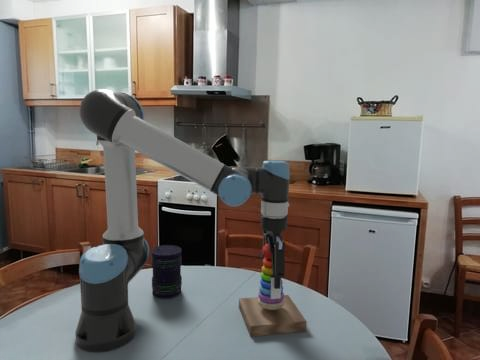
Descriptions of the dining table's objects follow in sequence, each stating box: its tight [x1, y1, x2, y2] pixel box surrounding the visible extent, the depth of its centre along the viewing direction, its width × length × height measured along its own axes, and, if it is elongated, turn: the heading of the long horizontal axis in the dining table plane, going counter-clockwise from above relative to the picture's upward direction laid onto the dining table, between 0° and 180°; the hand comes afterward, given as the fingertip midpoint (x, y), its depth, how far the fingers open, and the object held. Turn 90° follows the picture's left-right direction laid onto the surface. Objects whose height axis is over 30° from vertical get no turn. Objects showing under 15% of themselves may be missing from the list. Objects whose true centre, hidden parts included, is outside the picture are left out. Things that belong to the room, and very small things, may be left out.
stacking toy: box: [257, 243, 285, 310], centre depth 106 cm, size 8×8×19 cm
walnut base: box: [238, 294, 308, 337], centre depth 108 cm, size 16×16×3 cm
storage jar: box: [151, 244, 183, 300], centre depth 123 cm, size 10×10×15 cm
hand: (271, 291), depth 107 cm, fingers open, 8 cm apart
